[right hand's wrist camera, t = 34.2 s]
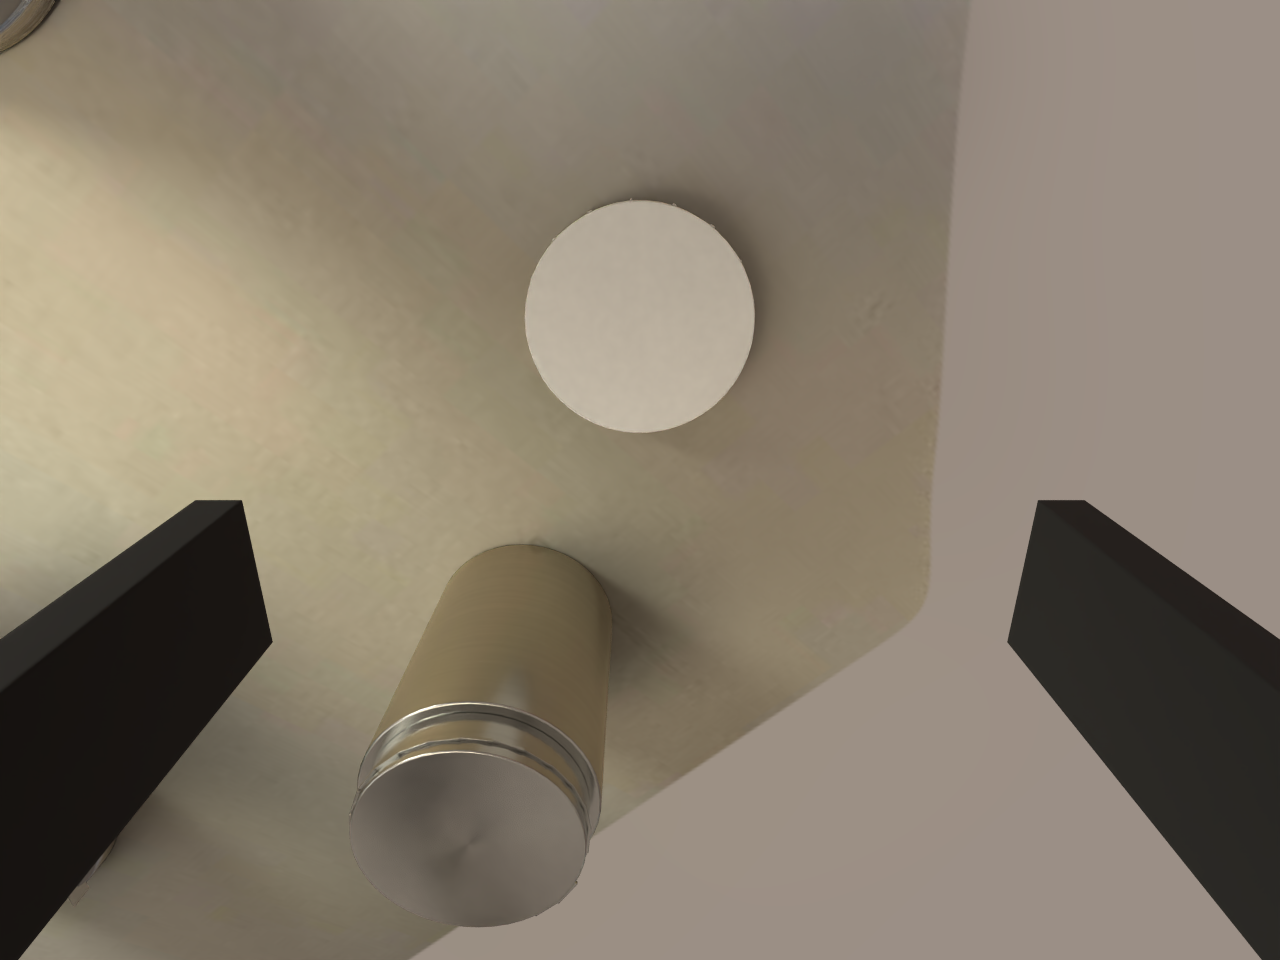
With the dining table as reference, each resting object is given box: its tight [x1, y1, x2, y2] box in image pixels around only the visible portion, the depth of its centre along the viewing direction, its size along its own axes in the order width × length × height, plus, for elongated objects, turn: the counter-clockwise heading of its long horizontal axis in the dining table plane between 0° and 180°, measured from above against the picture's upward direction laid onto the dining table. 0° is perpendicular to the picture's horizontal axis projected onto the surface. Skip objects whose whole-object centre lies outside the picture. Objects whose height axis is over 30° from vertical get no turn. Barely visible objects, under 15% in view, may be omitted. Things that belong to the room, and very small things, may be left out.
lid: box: [525, 198, 755, 433], centre depth 36 cm, size 11×11×2 cm
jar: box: [349, 545, 612, 927], centre depth 36 cm, size 10×10×16 cm
